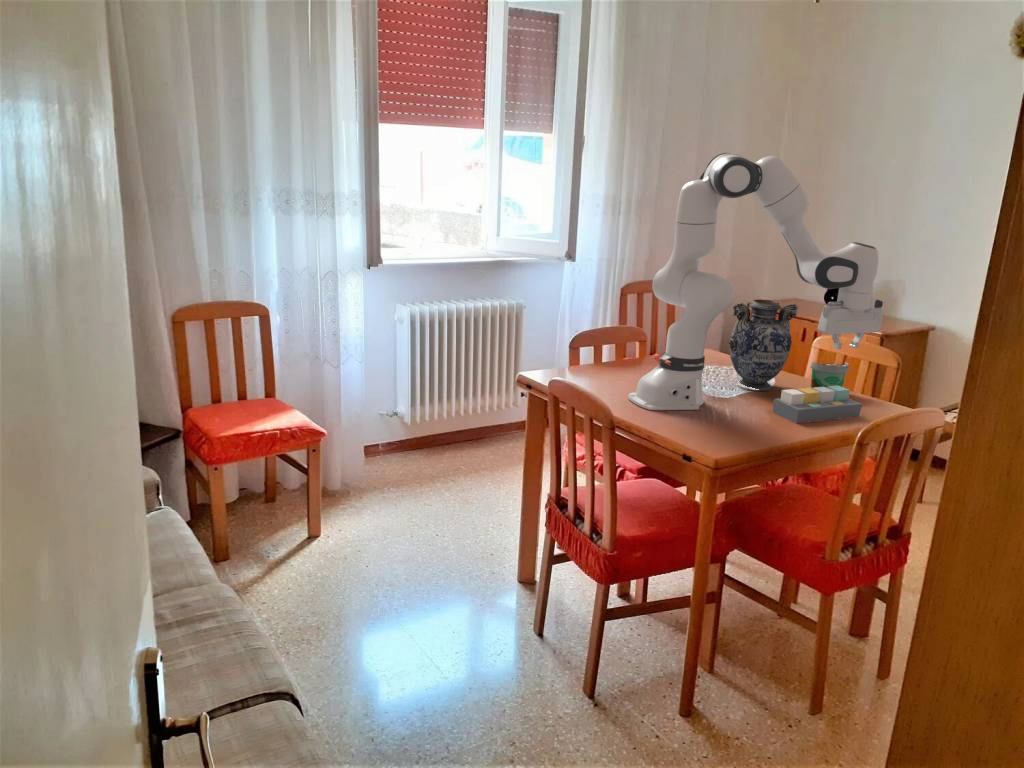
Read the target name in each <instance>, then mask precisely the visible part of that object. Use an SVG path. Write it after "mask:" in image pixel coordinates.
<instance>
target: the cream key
mask: <svg viewBox="0 0 1024 768" xmlns="http://www.w3.org/2000/svg"><path fill="white" fill-rule="evenodd" d="M804 396H805V393H802V392H800V391H797V389H795V388H791V389H781V395H780V398H781V399H780V400H781V401H783V402H785V403H787V404H789V405H798V404H803V402H804Z"/></svg>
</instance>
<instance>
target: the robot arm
mask: <svg viewBox="0 0 1024 768" xmlns="http://www.w3.org/2000/svg"><path fill="white" fill-rule="evenodd" d="M805 192H806V191H804V188H803V187H802V185H801V183H800V182H799V181H798V179H797V178H796V176H795V175H794V173H793V172H792V170H791V169H790V168H789V167H788V166H787V164H786V163H784V161H783V160H782V159H781V158H779V156H778V157H777V156H775V155H767V156H764V157H762V158H759V160H757V161H755V162H753V161H751V160H749V159H747V158H744V157H743V155H742V156H741V155H740V154H738V153H732V152H723V153H719V154H717V155H716V156H714V157H713V158H712V159H711V160H710V161H709V163H708V164H707V165H706V167H705V169H704V170H703V172H702V174H701V175H700V177H699V179H695V180H691V181H688V182H687V183H685V184H684V185H683V186H682V187H681V189H680V193H679V196H678V201H677V206H676V216H675V228H674V229H675V230H674V241H673V248H672V252H671V255H670V258H669V259H668V261H667V263H666V264H665V265H664V266H663V267H662V268H660V269H659V270H658V271H657V272H656V273H655V275H654V278H653V280H652V284H651V288H652V293H653V295H654V297H655V298H657V299H658V300H660V301H662V302H664V303H666V304H669V305H673V306H677V307H680V308H684V314H683V316H682V318H681V319H679V320H677V321H675V322H673V323H672V324H671V325H670V326H669V327H668V330H667V335H666V345H665V351H664V353H663V354H662V355H661V354H658V353H653V355H652V359H653V360H654V361H655V362H659V363H658V365H657V366H656V367H654V368H653V369H652V370H650V371H649V372H647V373H646V374H645V375H643V376H642V377H641V378H640V379H639V380H638V384H637V386H636V390H635V392H630V393H628V400H630V401H631V402H632V403H633V404H635V405H637V406H638V407H641V408H644V409H647V410H650V411H679V410H680V411H688V410H689V411H694V410H696V411H697V410H700V407H701V406H702V405H703V404H704V398H703V397H704V396H703V387H702V386H703V384H702V382H703V381H702V380H703V379H702V378H703V371H704V368H705V361H706V360H705V358H706V357H705V355H704V354H705V348H706V344H707V343H706V341H707V336H708V332H709V329H710V327H711V325H712V323H713V322H714V320H715V319H716V318H717V317H718V316H719V315H720V314H721V313H723V312H725V311H727V310H728V309H729V307H730V306H732V302H733V301H734V297H735V289H734V285H733V283H732V281H731V280H730V279H727V278H726V277H724V276H721V275H719V274H716V273H711V272H705V271H701V270H698V269H699V268H698V267H699V264H700V261H701V260H702V259H703V258H705V257H707V256H708V255H710V254H711V253H713V251H714V249H715V246H716V232H717V216H718V215H717V214H718V213H717V211H718V206H719V204H720V202H721V201H722V199H723V198H726V199H727V198H728V199H738V198H741V197H744V196H747V195H750V194H753V196H755V197H756V198H757V201H758V203H759V204H760V206H761V207H762V209H763V210H764V212H765V213H766V214H767V216H768V217H769V219H770V220H771V221H772V223H774V225H776V226H777V228H778V229H779V231H780V232H781V234H782V236H783V237H784V240H785V241H786V243H787V245H788V246H789V248H790V250H791V251H792V253H793V256H794V259H795V264H796V265H795V266H796V272H797V274H798V277H799V278H800V279H801V280H802V281H803V282H805V283H807V284H811V285H814V286H817V287H819V288H822V289H826V290H834V289H838V293H837V300H836V301H829V302H827V303H826V304H825V305H824V306H823V310H822V311H821V314H820V317H819V321H818V324H817V331H818V333H820V334H824V335H827V336H830V335H831V339H832V342H833V345H832V348H833V349H835V350H842V347H843V343H842V342H841V341H840V338H841V337H842V335H847V334H848V335H849V334H850V335H851V334H854V338H853V340H851V341H850V342H849V347H850V348H853V349H858V348H859V345H860V343H861V341H862V339H863V338H864V336H865V334H867V333H868V334H869V333H877V332H879V331H880V329H881V327H882V322H883V317H884V311H883V309H884V308H885V305H886V301H885V300H883V299H880V298H877V297H875V296H873V293H874V287H873V285H874V282H875V280H876V278H877V273H878V266H879V251H878V249H877V247H874V246H872V245H870V244H869V245H868V244H865V243H861V242H857V241H855V242H854V241H853V242H849V244H848V245H846V246H844V247H843V248H841V249H838V250H834V251H832V252H828V251H825V250H823V249H822V248H820V247H819V246H817V244H816V243H815V241H814V239H813V238H812V235H811V234H810V232H809V230H808V228H807V226H806V225H805V221H804V217H805V215H806V214H807V212H808V210H809V209H808V208H809V205H810V204H809V200H808V198H807V195H806V193H805Z"/></svg>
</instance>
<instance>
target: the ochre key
mask: <svg viewBox="0 0 1024 768" xmlns="http://www.w3.org/2000/svg"><path fill="white" fill-rule="evenodd" d="M796 390H797V391H800V392H802V393H805V396H804V402H803V403H806V404H809V403H818V402H819V396H820V392H818V391H816V390H813V389H811V387H802V388H796Z"/></svg>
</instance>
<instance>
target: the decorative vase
mask: <svg viewBox="0 0 1024 768" xmlns="http://www.w3.org/2000/svg"><path fill="white" fill-rule="evenodd" d="M797 305H798V304H796V303H793V302H792V303H790V302H789V303H787V304H786V305H784V306H783V307H782V306H781V305H780V302H779V301H776V300H770V299H753V300H752V302H750V303H749V305H747V304H745V303H743V302H738V303H735V304H734V305H733V307H732V308H733V312H732V316H735V317H736V318H737V320H736V322H735V324H734V328H733V330H732V332H731V333H730V337H729V341H728V344H729V356H730V360H731V363H732V364H731V365H732V366H733V368H734V370H735V372H736V373H737V374H738V376H739V377H740V378H741V379H739V380H740V381H739V380H738V381H739V382H740V383H741V384H743V385H745V386H747V387H752V388H755V389H759V390H758V391H757V392H767V391H770V390H771V389H772V385H771V384H770V383H769V381H771V380H773V379H774V378H775V377H776V376H777V375H778V374H779V373H780V372H781V371H782V369H783V368H784V367H785V365H786V363H787V360H788V359H789V356H790V352H791V348H792V343H793V341H792V336H791V332H790V331H791V323H790V321H791V320H792V319H793V318H794V317H797V313H798V310H799V307H798V306H797ZM750 308H752V311H753V312H752V313H751V309H750ZM778 311H779V312H778ZM777 313H778V317H777ZM751 315H752V316H751ZM776 318H777V319H776Z"/></svg>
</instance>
